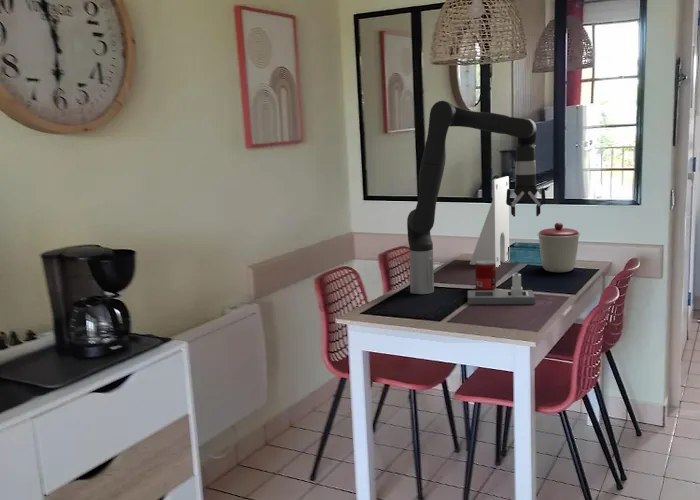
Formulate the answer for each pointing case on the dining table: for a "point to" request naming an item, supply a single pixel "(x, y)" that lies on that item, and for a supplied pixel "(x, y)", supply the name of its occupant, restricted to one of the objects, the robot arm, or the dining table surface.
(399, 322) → the dining table surface
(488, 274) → the canned food
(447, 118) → the robot arm
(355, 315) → the dining table surface
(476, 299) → the panel
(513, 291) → the plug
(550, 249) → the canister
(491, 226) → the white bracket plate
